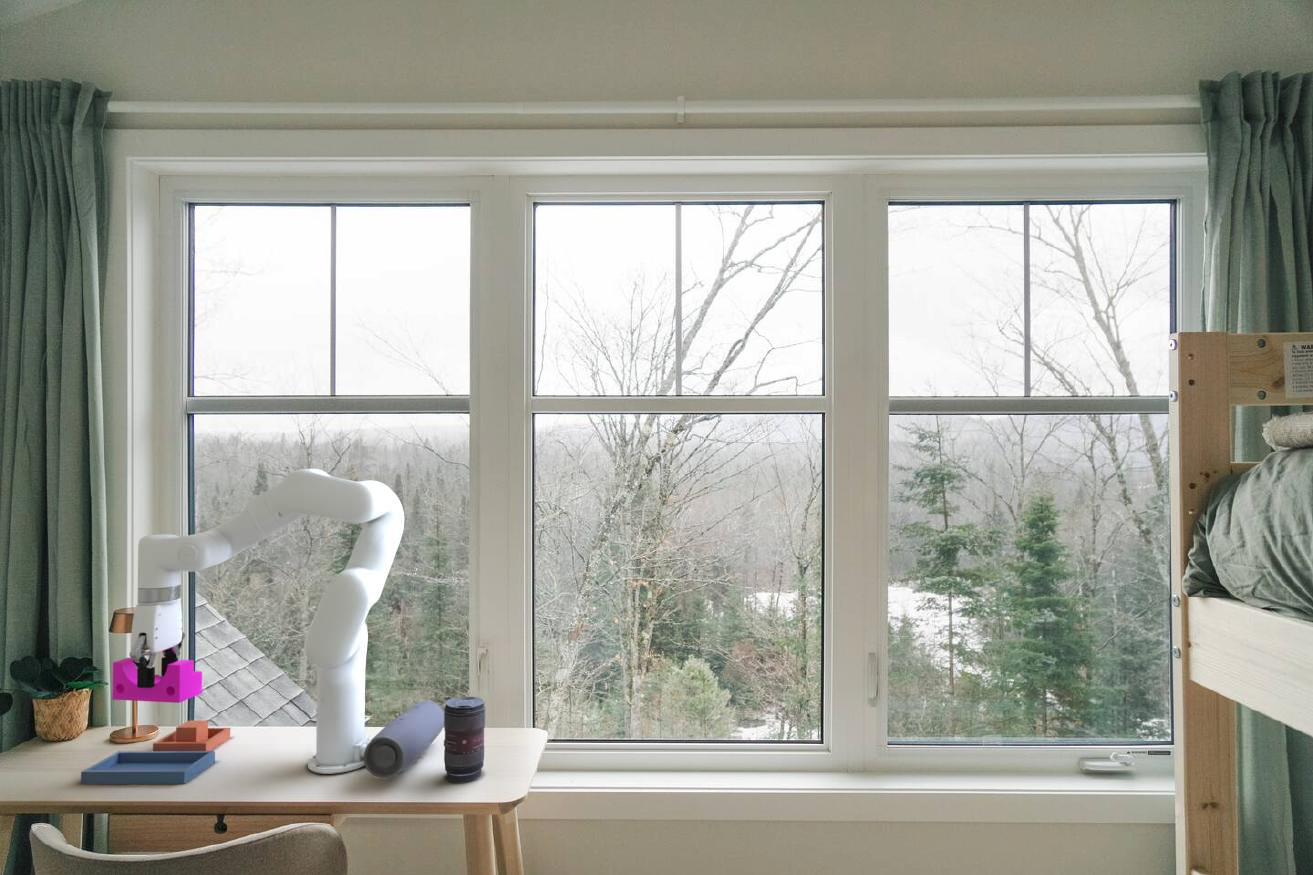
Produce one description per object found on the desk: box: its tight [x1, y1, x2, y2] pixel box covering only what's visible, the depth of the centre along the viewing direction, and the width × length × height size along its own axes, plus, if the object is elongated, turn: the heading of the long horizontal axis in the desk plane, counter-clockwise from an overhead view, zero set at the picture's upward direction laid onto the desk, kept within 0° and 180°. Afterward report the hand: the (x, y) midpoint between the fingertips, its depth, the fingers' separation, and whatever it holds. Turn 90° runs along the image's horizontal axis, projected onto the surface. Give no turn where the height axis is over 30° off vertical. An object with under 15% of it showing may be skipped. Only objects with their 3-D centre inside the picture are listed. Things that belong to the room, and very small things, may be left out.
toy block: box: [111, 657, 203, 704], centre depth 159 cm, size 15×6×8 cm, turn 82°
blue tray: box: [80, 750, 216, 785], centre depth 158 cm, size 21×11×2 cm, turn 90°
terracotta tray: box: [152, 727, 231, 751], centre depth 173 cm, size 12×10×2 cm
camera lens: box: [443, 696, 486, 784], centre depth 157 cm, size 8×8×15 cm
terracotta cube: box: [175, 720, 209, 742], centre depth 173 cm, size 4×4×4 cm
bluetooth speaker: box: [364, 700, 444, 779], centre depth 164 cm, size 23×9×10 cm, turn 175°
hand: (158, 681), depth 159 cm, fingers closed on toy block, 6 cm apart
